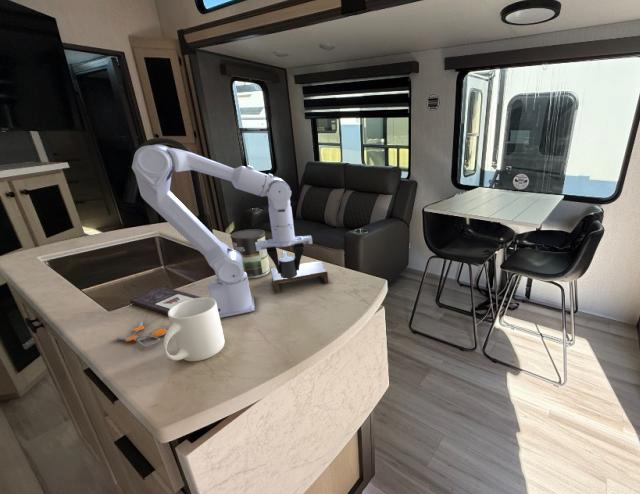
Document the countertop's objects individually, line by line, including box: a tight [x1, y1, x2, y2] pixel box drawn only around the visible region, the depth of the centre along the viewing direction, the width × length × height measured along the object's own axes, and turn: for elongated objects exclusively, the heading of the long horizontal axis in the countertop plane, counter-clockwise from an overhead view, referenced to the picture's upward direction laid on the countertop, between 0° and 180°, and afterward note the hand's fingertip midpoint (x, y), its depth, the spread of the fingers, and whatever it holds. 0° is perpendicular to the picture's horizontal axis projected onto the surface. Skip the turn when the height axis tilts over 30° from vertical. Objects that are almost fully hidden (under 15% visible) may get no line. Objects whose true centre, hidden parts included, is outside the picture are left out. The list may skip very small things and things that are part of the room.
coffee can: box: [230, 228, 271, 280], centre depth 107 cm, size 10×10×14 cm
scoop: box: [278, 251, 297, 278], centre depth 92 cm, size 9×4×5 cm, turn 25°
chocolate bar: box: [129, 286, 203, 316], centre depth 89 cm, size 9×1×18 cm
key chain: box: [116, 320, 168, 348], centre depth 75 cm, size 13×7×1 cm, turn 66°
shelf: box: [270, 260, 329, 294], centre depth 102 cm, size 16×10×4 cm, turn 116°
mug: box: [162, 297, 226, 362], centre depth 66 cm, size 9×12×11 cm
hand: (288, 270), depth 90 cm, fingers closed on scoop, 4 cm apart
